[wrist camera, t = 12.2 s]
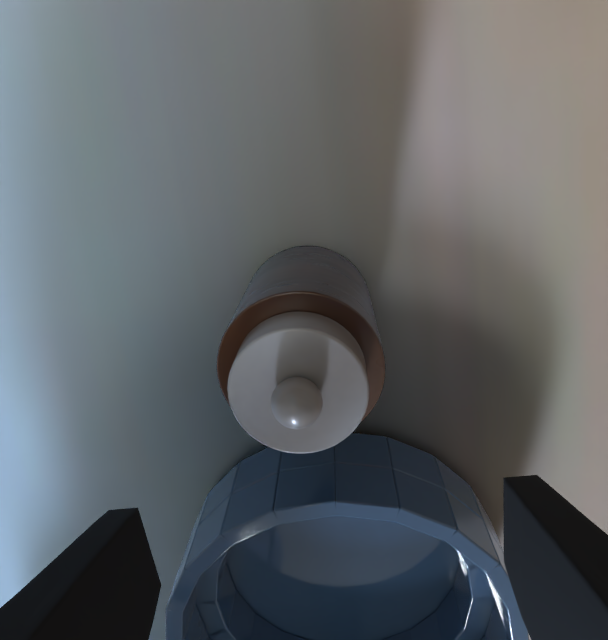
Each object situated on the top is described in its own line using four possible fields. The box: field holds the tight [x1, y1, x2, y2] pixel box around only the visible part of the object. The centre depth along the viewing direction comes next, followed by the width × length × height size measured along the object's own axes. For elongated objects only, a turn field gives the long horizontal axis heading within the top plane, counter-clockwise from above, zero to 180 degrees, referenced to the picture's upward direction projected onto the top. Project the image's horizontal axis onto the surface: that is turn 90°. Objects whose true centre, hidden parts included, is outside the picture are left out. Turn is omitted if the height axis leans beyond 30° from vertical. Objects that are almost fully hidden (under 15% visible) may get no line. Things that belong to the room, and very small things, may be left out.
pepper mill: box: [217, 246, 385, 454], centre depth 15 cm, size 4×4×7 cm
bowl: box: [166, 433, 529, 640], centre depth 20 cm, size 12×12×4 cm
